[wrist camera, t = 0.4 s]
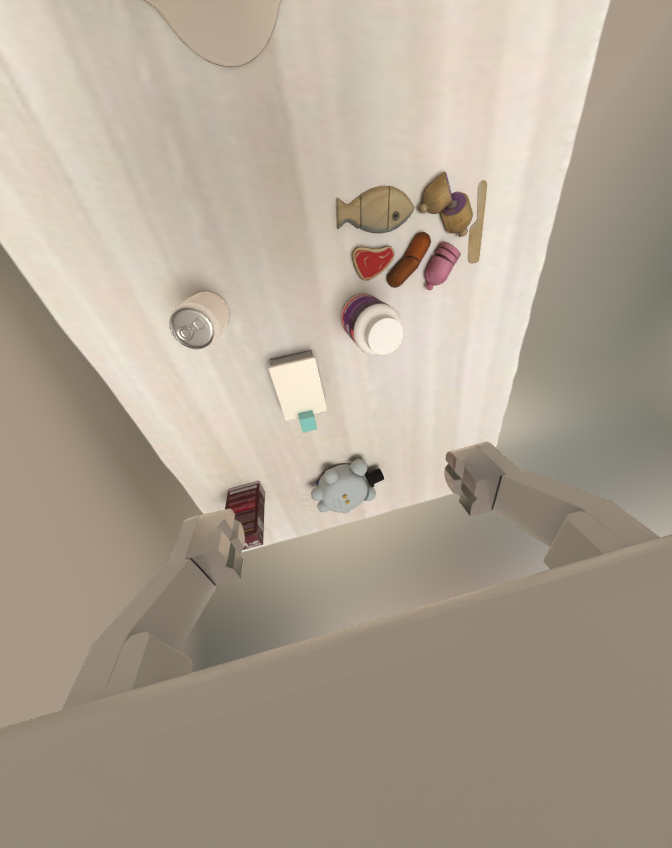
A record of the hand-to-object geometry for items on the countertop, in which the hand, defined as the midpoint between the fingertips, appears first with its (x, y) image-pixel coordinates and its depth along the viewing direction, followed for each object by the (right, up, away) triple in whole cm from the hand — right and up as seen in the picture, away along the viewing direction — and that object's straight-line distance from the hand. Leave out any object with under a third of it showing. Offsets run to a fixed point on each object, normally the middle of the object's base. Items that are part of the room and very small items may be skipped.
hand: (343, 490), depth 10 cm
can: (-22, +22, +37) cm, 48 cm away
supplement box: (-24, -15, +62) cm, 68 cm away
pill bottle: (+4, +24, +42) cm, 48 cm away
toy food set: (+13, +35, +37) cm, 52 cm away
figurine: (+2, -13, +66) cm, 67 cm away
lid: (-7, +9, +44) cm, 45 cm away
